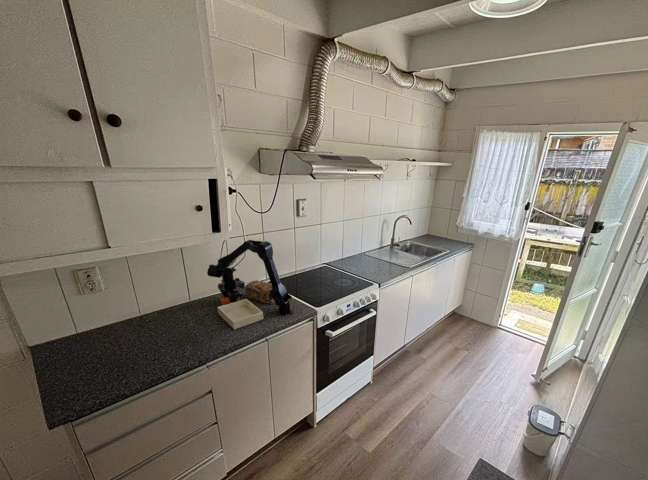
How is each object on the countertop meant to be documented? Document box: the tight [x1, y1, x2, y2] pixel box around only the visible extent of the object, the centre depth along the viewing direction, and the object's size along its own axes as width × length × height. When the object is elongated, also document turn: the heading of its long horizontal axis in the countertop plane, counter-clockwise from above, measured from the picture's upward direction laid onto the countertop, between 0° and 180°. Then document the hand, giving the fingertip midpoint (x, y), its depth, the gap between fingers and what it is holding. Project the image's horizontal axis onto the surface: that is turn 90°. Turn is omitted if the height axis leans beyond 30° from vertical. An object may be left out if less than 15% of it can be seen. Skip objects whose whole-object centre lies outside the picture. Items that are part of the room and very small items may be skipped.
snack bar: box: [220, 297, 241, 306], centre depth 168 cm, size 4×9×4 cm, turn 134°
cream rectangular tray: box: [217, 298, 264, 330], centre depth 155 cm, size 20×16×5 cm
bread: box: [244, 280, 276, 305], centre depth 175 cm, size 19×11×10 cm, turn 68°
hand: (231, 303), depth 168 cm, fingers open, 8 cm apart
